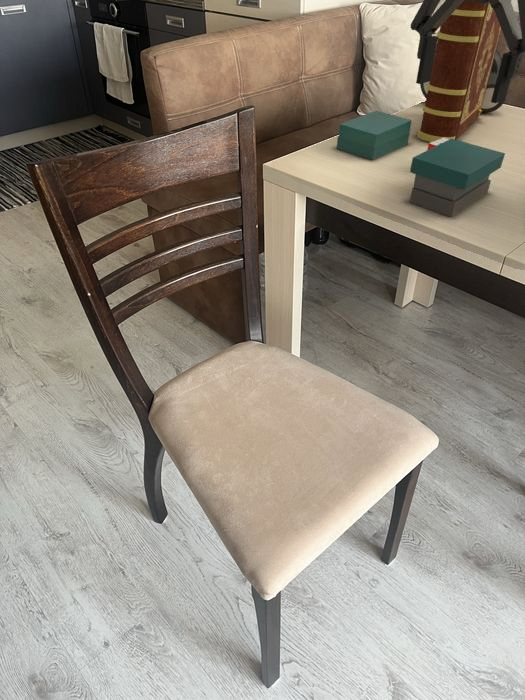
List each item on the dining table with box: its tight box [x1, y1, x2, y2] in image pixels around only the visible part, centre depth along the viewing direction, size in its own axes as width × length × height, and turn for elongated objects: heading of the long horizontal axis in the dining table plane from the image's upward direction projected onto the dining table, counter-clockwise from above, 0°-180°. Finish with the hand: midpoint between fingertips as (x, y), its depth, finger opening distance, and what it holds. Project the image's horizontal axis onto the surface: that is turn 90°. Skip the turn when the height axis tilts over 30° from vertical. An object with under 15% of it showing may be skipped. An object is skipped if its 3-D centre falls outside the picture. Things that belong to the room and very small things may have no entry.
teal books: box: [336, 110, 412, 161], centre depth 114 cm, size 9×13×5 cm
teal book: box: [409, 139, 506, 190], centre depth 92 cm, size 10×13×2 cm
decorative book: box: [417, 1, 502, 143], centre depth 115 cm, size 22×8×30 cm, turn 148°
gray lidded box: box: [409, 174, 492, 218], centre depth 95 cm, size 8×13×5 cm, turn 137°
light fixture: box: [419, 49, 507, 114], centre depth 137 cm, size 21×17×12 cm
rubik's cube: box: [426, 138, 450, 151], centre depth 104 cm, size 5×5×5 cm
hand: (458, 91), depth 86 cm, fingers open, 13 cm apart
